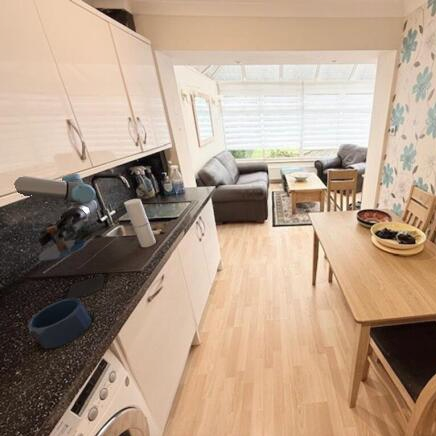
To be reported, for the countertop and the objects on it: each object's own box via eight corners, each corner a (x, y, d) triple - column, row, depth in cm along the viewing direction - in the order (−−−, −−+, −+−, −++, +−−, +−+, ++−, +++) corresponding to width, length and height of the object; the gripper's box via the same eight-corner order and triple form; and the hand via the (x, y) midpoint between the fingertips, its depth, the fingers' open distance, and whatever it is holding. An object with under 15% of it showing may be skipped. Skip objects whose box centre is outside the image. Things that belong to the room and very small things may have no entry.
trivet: (65, 303, 91) (64, 302, 91) (71, 285, 100) (70, 284, 100) (102, 290, 96) (102, 289, 96) (105, 274, 106) (105, 273, 105)
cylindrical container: (139, 249, 124) (121, 205, 113) (144, 242, 130) (127, 199, 120) (153, 246, 125) (137, 202, 114) (157, 240, 132) (142, 198, 121)
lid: (35, 266, 81) (18, 241, 77) (46, 249, 92) (32, 226, 88) (84, 253, 87) (71, 228, 83) (89, 238, 98) (78, 215, 94)
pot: (36, 357, 71) (20, 337, 67) (48, 327, 81) (35, 309, 77) (88, 336, 76) (76, 316, 73) (94, 310, 86) (83, 293, 83)
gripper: (100, 219, 106) (80, 245, 86) (57, 227, 101) (24, 256, 81) (93, 204, 103) (70, 226, 83) (48, 211, 98) (11, 237, 78)
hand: (47, 241), depth 82 cm, fingers closed on lid, 3 cm apart
